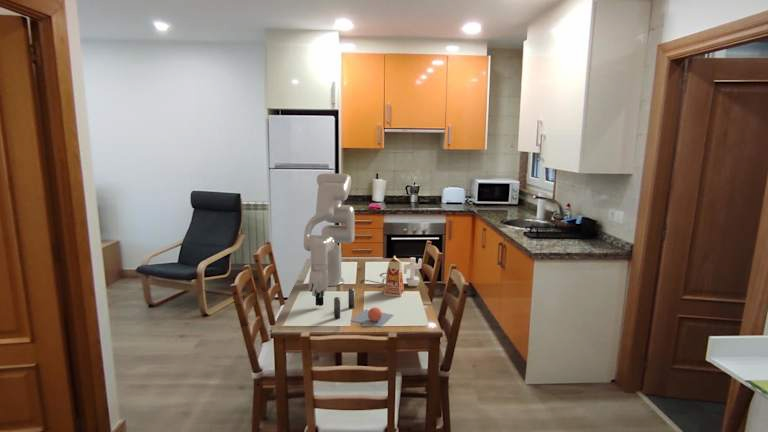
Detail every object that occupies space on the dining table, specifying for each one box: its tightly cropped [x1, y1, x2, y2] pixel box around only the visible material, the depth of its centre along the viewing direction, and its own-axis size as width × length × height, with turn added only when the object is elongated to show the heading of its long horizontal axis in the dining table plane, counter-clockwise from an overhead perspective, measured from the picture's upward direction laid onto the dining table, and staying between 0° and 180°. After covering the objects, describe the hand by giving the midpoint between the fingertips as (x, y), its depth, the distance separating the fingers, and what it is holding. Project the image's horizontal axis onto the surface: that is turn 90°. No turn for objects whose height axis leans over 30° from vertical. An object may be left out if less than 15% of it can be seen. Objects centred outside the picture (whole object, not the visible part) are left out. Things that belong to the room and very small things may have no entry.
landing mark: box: [350, 309, 394, 328], centre depth 195 cm, size 14×14×1 cm
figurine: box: [403, 257, 423, 287], centre depth 238 cm, size 7×9×15 cm
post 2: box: [347, 287, 355, 310], centre depth 205 cm, size 3×3×9 cm
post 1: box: [333, 297, 341, 320], centre depth 193 cm, size 3×3×9 cm
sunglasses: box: [360, 272, 387, 287], centre depth 245 cm, size 17×15×5 cm
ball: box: [368, 306, 383, 322], centre depth 191 cm, size 6×6×6 cm
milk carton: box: [383, 255, 405, 297], centre depth 225 cm, size 9×9×20 cm
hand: (319, 304), depth 205 cm, fingers closed
